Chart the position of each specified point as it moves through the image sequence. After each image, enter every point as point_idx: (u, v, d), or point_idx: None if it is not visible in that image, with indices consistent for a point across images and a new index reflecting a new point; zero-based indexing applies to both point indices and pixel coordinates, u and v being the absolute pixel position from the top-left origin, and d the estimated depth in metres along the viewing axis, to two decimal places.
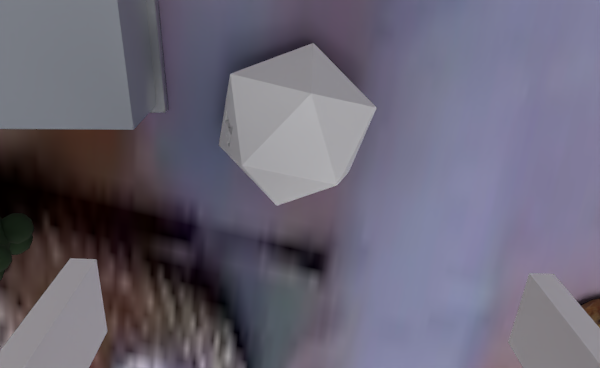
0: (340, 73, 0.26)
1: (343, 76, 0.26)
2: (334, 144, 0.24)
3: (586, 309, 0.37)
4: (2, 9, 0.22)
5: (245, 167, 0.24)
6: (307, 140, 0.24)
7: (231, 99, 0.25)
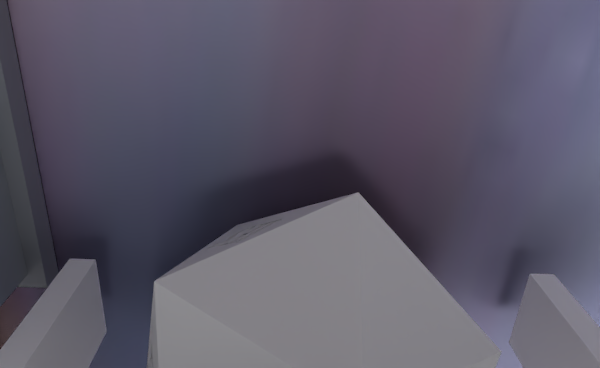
0: (420, 270, 0.11)
1: (427, 278, 0.11)
2: None
3: None
4: None
5: None
6: None
7: (156, 342, 0.10)
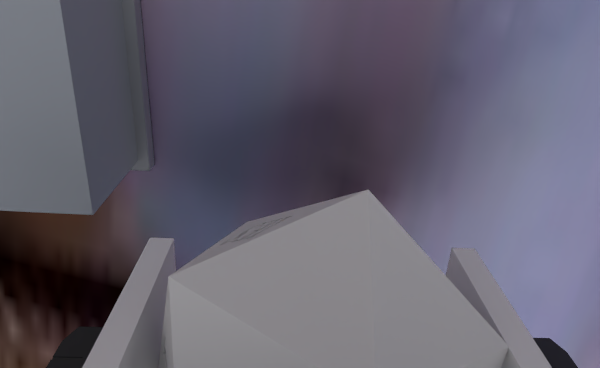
0: (429, 266, 0.11)
1: (436, 274, 0.11)
2: None
3: None
4: None
5: None
6: None
7: (170, 336, 0.10)
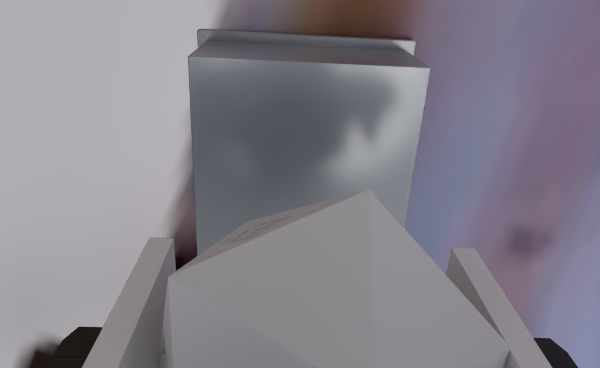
0: (430, 267, 0.11)
1: (437, 274, 0.11)
2: None
3: None
4: (307, 167, 0.24)
5: None
6: None
7: (170, 336, 0.10)
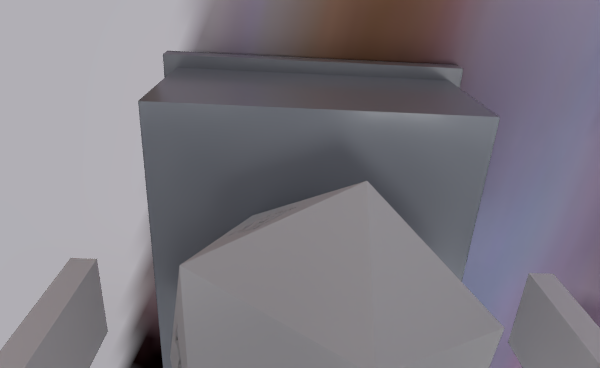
0: (426, 253, 0.12)
1: (433, 259, 0.12)
2: None
3: None
4: None
5: None
6: None
7: (182, 321, 0.11)
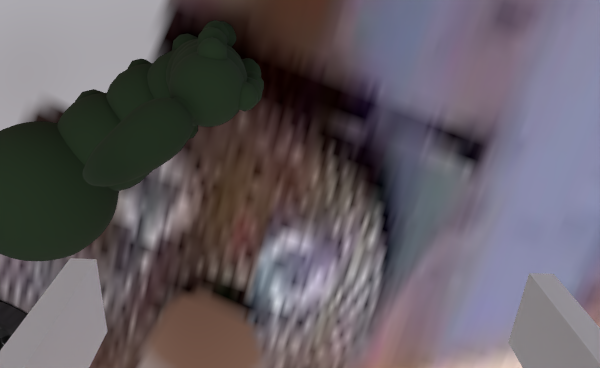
0: None
1: None
2: None
3: None
4: None
5: None
6: None
7: None
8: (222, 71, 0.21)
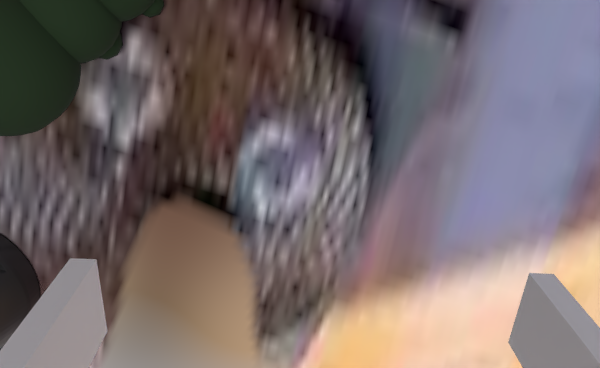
0: None
1: None
2: None
3: None
4: None
5: None
6: None
7: None
8: None
